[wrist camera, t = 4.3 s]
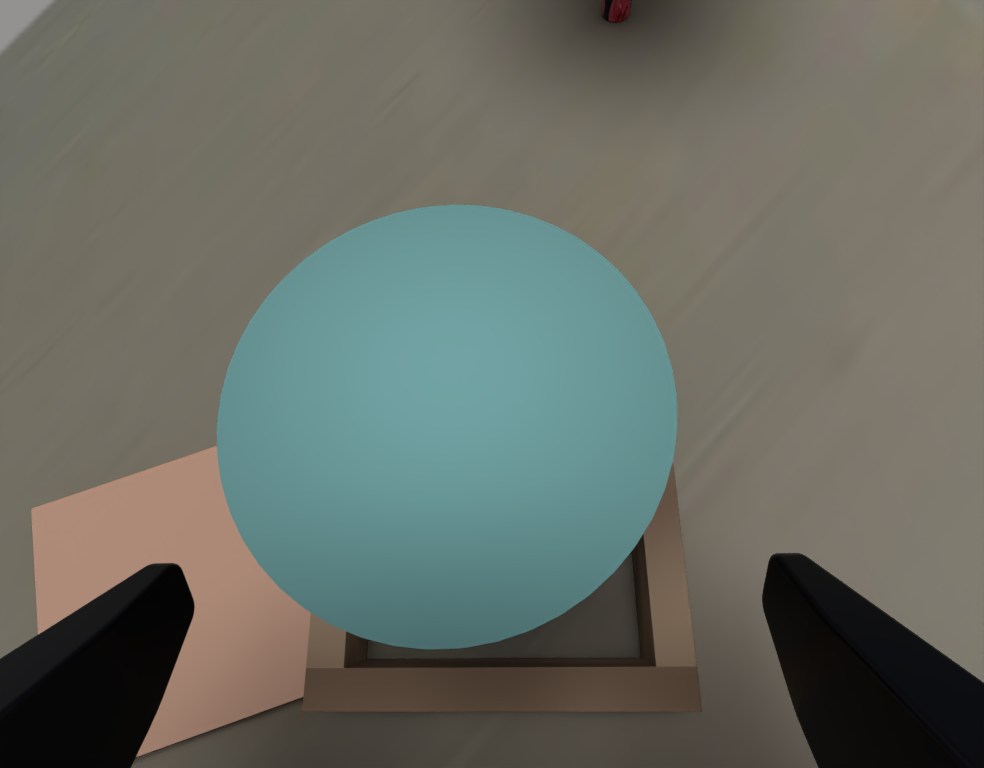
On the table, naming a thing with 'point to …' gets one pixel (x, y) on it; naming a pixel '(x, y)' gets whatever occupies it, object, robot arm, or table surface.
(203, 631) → the coaster
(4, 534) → the table surface
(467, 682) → the open square brown frame
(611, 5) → the lantern
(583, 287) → the teal-capped grey cylinder
